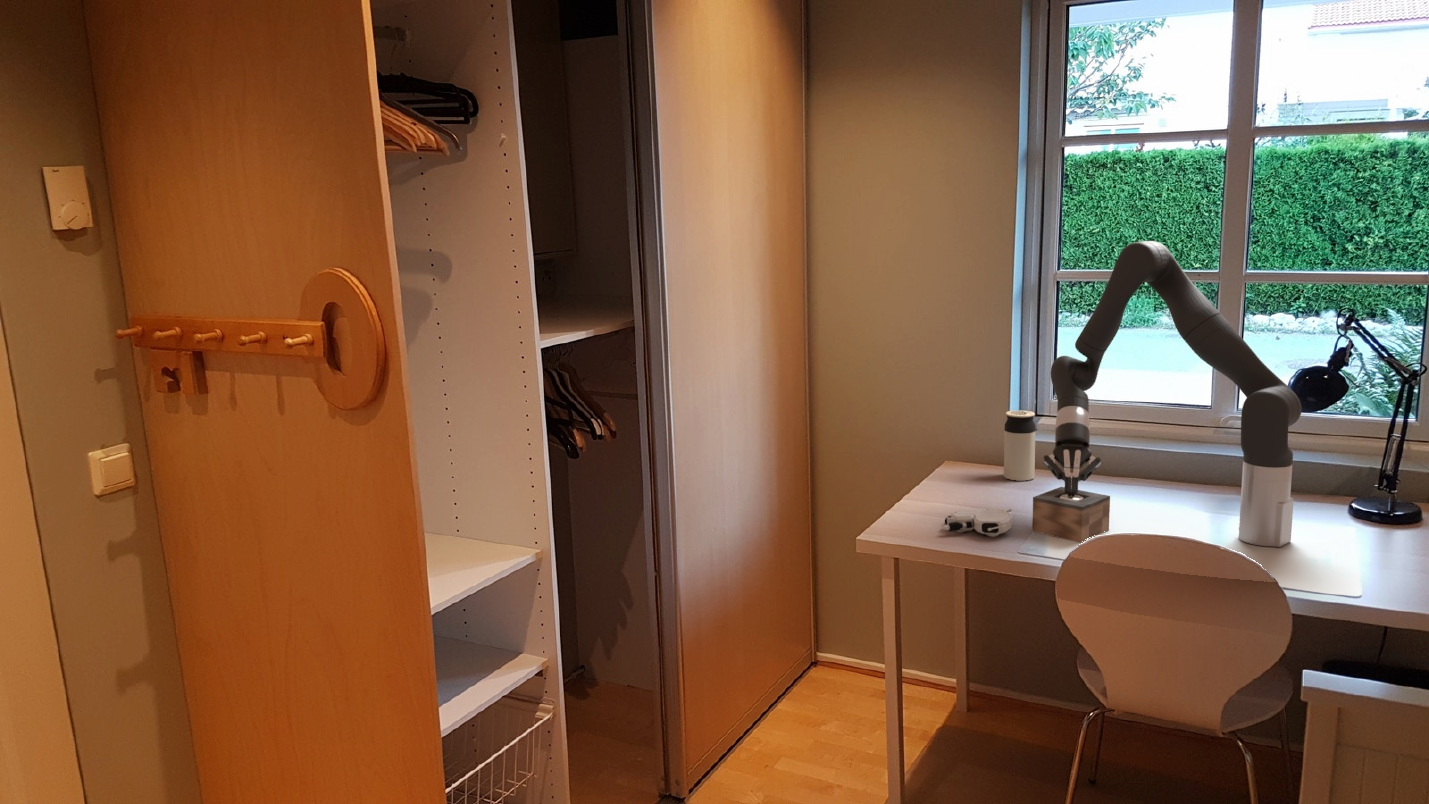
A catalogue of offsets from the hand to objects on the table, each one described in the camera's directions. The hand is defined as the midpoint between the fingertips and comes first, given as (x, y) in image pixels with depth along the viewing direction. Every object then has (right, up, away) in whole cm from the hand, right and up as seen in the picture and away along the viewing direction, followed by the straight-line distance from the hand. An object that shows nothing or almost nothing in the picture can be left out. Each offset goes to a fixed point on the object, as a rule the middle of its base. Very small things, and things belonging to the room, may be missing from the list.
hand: (1071, 494), depth 228 cm
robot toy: (-20, -9, +3) cm, 22 cm away
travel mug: (+3, 0, +48) cm, 48 cm away
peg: (0, -9, +1) cm, 9 cm away
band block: (0, -8, +1) cm, 8 cm away
